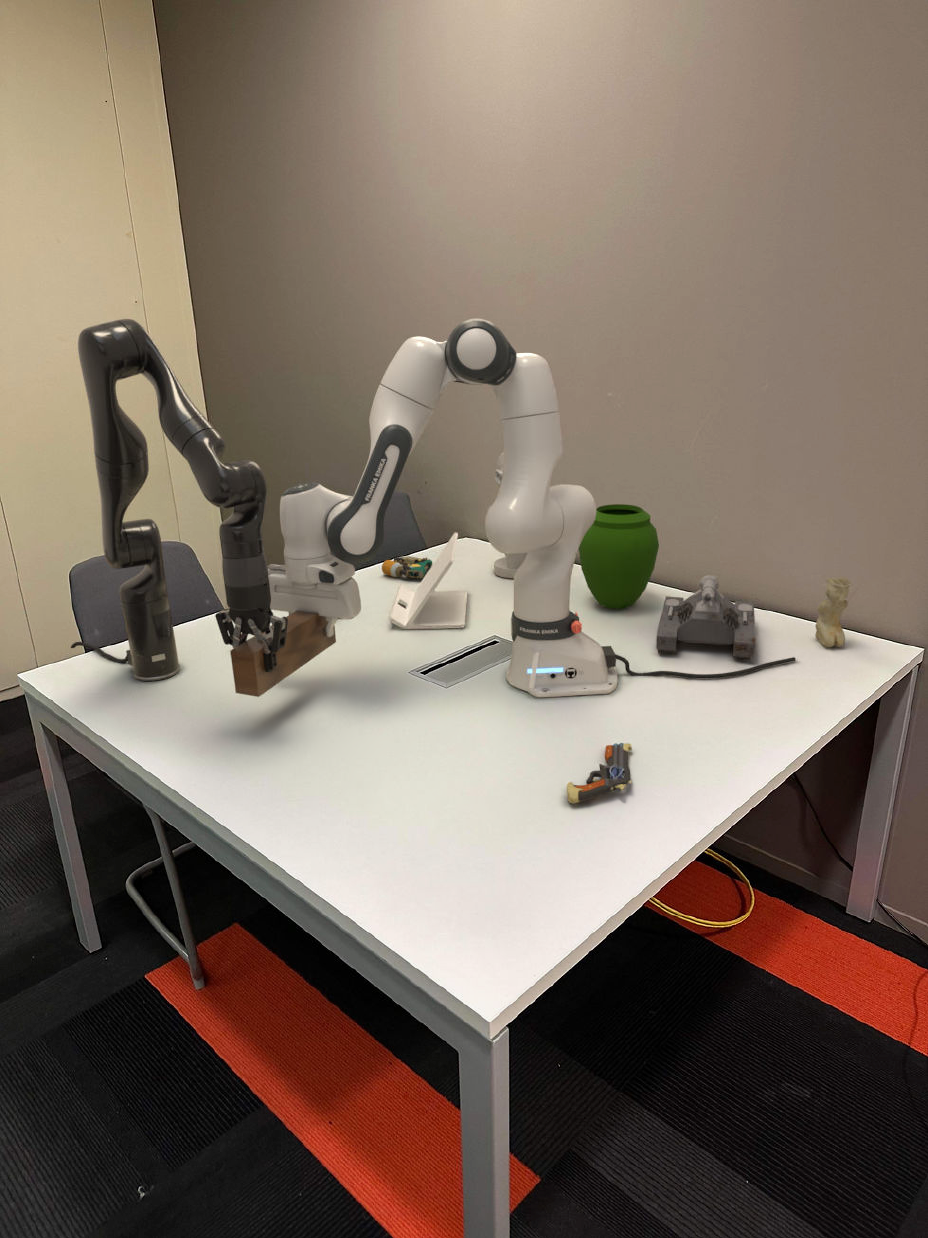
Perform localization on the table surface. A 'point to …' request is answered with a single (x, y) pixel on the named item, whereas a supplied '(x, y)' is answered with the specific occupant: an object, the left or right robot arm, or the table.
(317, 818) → the table surface
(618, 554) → the vase
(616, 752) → the toy gun
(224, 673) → the table surface
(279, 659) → the bar
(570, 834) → the table surface
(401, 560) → the spray gun
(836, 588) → the sculpture
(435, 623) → the tablet stand
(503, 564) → the bust sculpture
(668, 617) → the toy
